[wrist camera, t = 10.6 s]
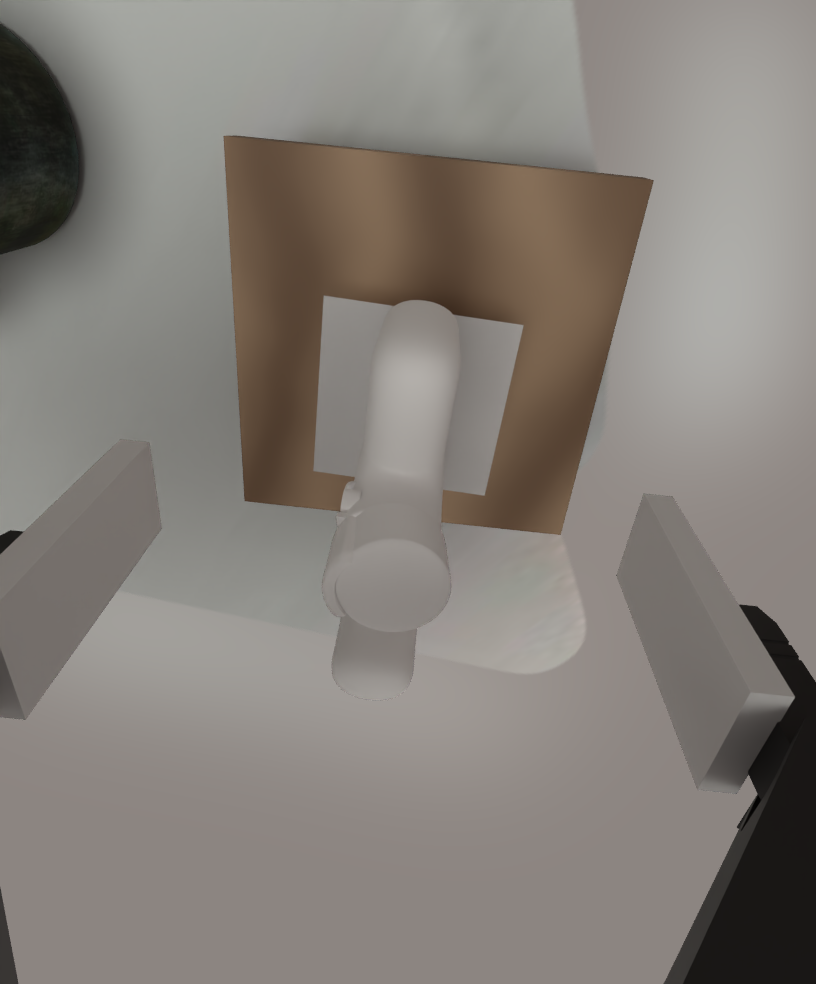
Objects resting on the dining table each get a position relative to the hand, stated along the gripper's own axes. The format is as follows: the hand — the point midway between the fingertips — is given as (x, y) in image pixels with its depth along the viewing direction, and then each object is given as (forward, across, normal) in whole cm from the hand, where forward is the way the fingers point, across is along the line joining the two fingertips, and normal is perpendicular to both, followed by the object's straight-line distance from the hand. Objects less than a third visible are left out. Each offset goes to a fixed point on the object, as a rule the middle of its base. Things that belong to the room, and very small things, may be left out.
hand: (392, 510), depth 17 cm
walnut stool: (+20, 0, 0) cm, 20 cm away
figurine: (+12, 0, 0) cm, 12 cm away
